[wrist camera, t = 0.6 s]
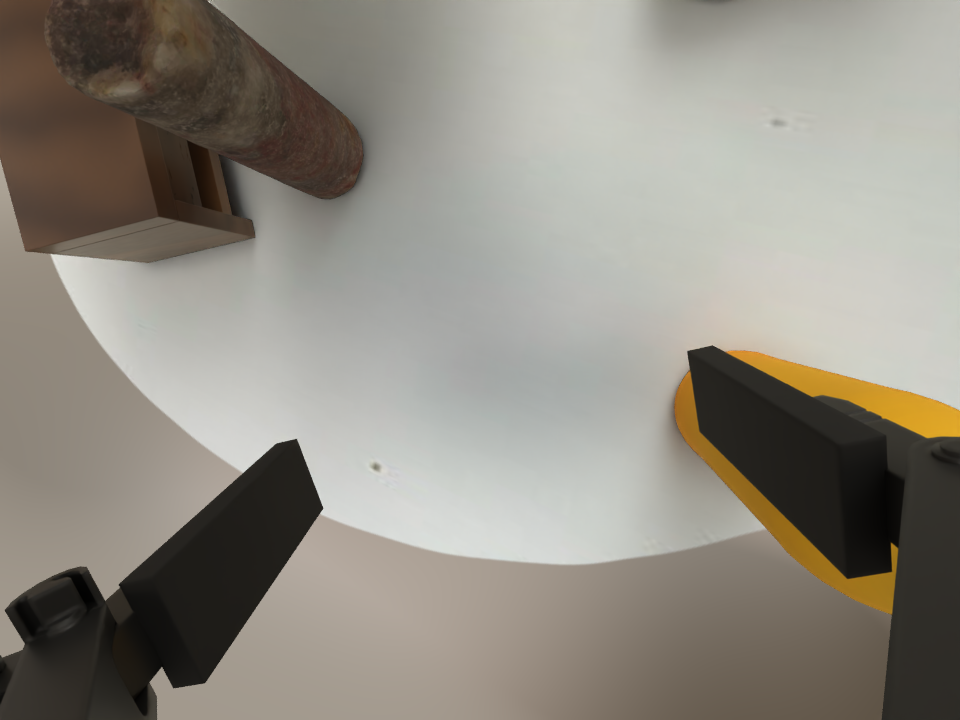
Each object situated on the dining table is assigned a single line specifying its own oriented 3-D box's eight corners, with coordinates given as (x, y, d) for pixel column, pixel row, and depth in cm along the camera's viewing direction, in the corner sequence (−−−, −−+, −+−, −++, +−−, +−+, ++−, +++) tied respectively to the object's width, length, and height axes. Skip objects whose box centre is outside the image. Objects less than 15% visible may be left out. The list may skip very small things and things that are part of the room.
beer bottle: (646, 404, 38) (899, 700, 10) (734, 324, 36) (1365, 405, 8) (727, 482, 38) (1232, 1021, 9) (820, 406, 36) (1801, 795, 8)
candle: (271, 157, 41) (10, 26, 22) (322, 91, 40) (90, -115, 20) (330, 217, 41) (119, 139, 21) (383, 153, 39) (209, 6, 20)
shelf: (100, 71, 43) (-44, -1, 33) (210, 34, 41) (92, -57, 30) (148, 263, 45) (25, 251, 34) (255, 237, 42) (158, 216, 32)
